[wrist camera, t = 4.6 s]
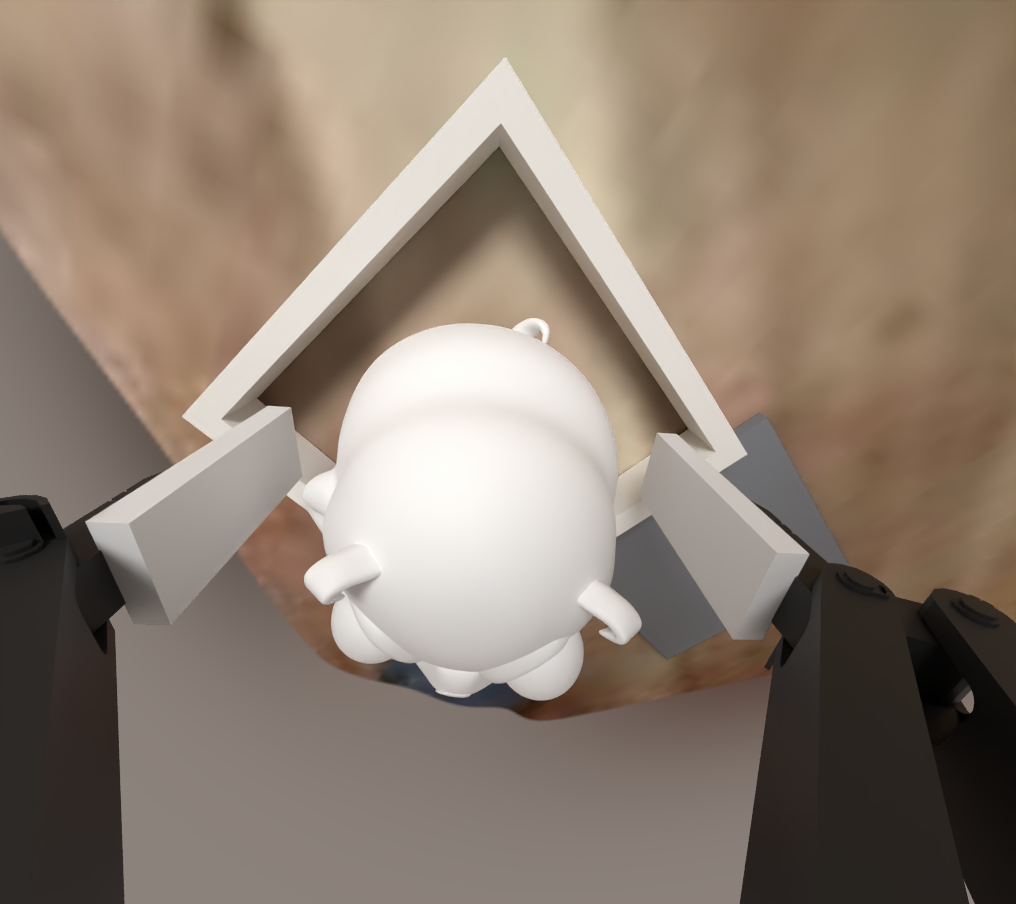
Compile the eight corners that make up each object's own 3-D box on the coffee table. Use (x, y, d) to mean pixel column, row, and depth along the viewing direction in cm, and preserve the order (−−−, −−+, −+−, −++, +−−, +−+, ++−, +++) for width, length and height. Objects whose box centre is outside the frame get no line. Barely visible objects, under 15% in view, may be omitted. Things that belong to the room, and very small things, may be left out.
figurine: (412, 255, 15) (198, 230, 4) (628, 356, 17) (875, 524, 6) (349, 465, 19) (155, 744, 8) (531, 527, 21) (575, 814, 10)
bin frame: (223, 396, 17) (181, 416, 14) (502, 93, 13) (505, 57, 10) (470, 594, 23) (468, 630, 20) (716, 431, 18) (747, 454, 16)
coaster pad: (556, 545, 21) (558, 553, 21) (759, 412, 18) (767, 417, 18) (663, 651, 26) (667, 659, 25) (841, 558, 22) (849, 565, 22)
